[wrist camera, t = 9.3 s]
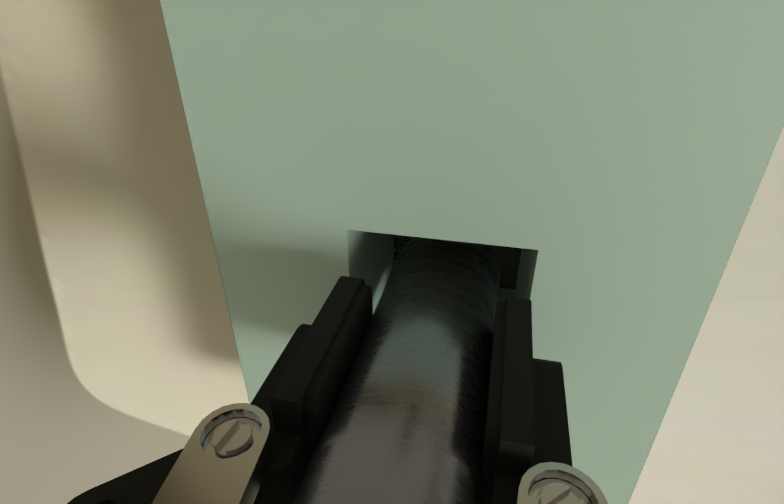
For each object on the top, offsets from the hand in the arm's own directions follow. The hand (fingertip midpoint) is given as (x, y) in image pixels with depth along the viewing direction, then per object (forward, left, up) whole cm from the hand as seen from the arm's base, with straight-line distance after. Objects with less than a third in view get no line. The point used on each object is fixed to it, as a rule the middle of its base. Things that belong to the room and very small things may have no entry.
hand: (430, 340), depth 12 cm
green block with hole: (0, 0, -6) cm, 6 cm away
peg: (0, 0, -3) cm, 3 cm away
